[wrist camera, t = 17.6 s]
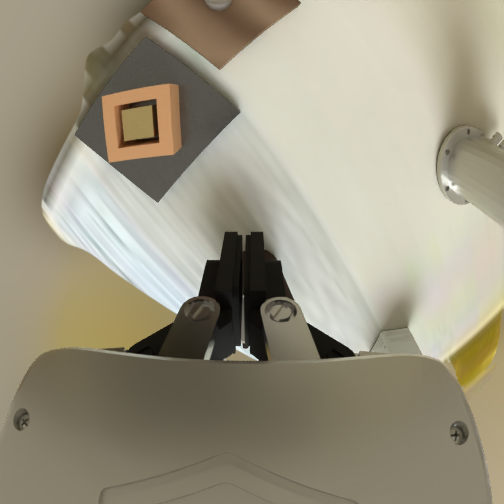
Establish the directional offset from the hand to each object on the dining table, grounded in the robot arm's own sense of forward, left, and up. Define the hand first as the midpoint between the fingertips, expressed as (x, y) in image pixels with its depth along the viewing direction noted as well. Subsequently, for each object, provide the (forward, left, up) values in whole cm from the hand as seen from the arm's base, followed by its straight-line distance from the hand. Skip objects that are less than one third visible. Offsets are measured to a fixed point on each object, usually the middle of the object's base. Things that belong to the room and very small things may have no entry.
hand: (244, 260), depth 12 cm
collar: (+3, -11, -19) cm, 22 cm away
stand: (-12, -15, -21) cm, 28 cm away
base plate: (+3, -11, -21) cm, 24 cm away
